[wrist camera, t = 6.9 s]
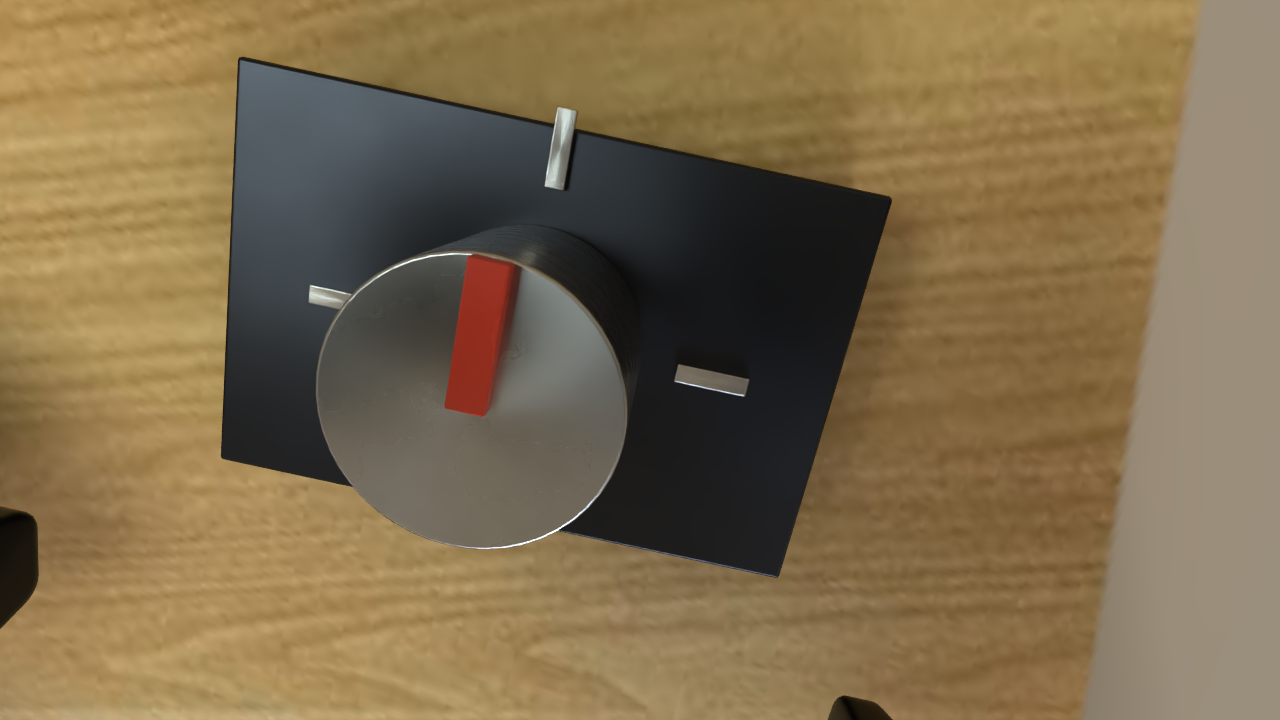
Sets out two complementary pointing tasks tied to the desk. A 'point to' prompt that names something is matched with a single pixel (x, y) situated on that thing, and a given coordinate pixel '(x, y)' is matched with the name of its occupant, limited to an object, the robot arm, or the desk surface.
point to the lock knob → (483, 386)
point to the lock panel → (598, 215)
